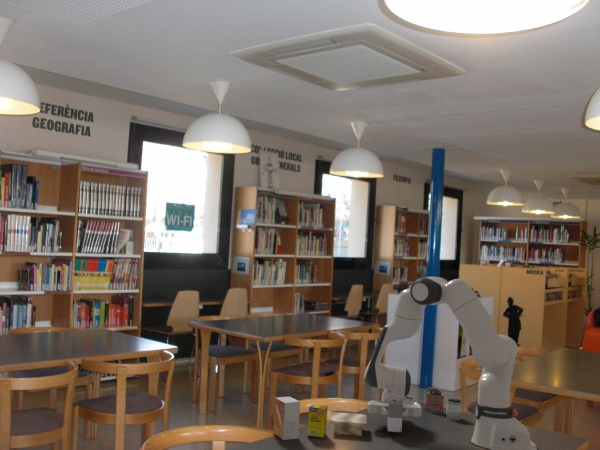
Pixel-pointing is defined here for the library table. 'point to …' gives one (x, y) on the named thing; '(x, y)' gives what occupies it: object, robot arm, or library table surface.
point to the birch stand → (348, 423)
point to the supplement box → (317, 421)
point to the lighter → (434, 401)
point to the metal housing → (395, 416)
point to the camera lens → (454, 409)
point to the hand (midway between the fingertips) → (395, 414)
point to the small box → (286, 418)
